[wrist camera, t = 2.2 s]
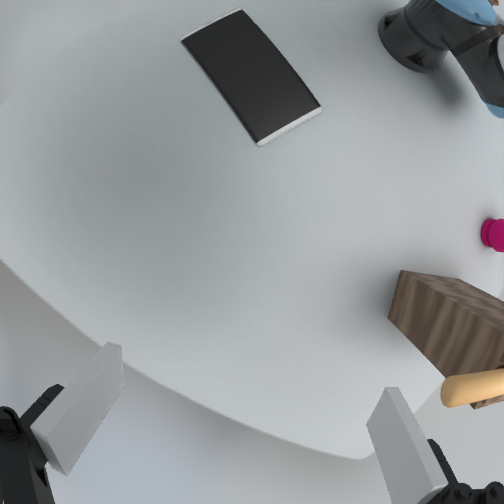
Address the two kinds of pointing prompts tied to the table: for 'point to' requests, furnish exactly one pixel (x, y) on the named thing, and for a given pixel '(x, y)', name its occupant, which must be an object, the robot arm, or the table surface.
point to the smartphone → (251, 76)
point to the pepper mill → (493, 234)
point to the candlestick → (500, 29)
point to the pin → (472, 387)
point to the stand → (451, 324)
